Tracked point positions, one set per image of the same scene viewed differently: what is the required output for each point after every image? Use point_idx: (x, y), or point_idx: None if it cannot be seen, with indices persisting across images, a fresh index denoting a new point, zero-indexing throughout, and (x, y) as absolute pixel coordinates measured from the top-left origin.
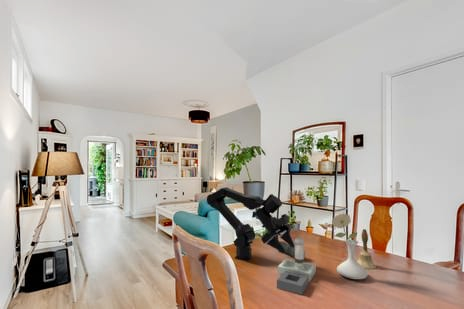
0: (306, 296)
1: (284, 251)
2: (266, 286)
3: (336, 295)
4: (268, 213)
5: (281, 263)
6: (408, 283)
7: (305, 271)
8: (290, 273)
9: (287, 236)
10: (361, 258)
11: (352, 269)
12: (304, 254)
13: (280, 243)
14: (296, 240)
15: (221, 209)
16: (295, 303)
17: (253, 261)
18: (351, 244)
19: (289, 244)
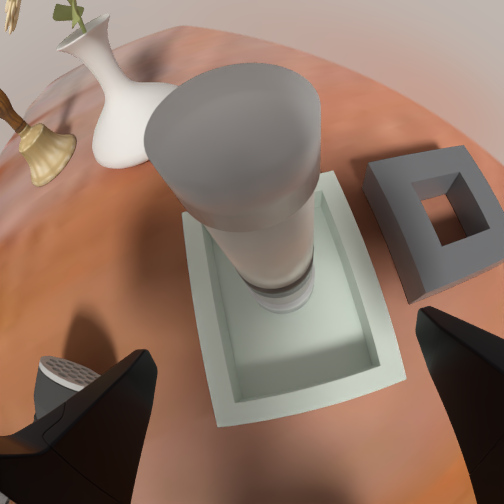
0: None
1: (434, 312)
2: None
3: (342, 98)
4: None
5: (339, 397)
6: (129, 69)
7: (327, 199)
8: (428, 243)
9: (74, 466)
10: (45, 147)
11: (166, 88)
12: (60, 360)
13: (500, 359)
14: (320, 108)
15: None
16: (494, 161)
17: None
18: (107, 22)
19: (146, 415)
